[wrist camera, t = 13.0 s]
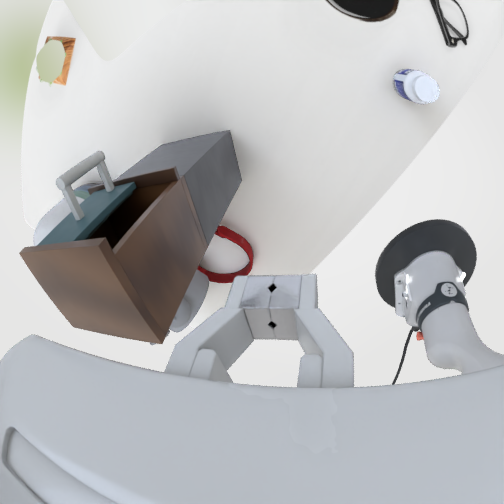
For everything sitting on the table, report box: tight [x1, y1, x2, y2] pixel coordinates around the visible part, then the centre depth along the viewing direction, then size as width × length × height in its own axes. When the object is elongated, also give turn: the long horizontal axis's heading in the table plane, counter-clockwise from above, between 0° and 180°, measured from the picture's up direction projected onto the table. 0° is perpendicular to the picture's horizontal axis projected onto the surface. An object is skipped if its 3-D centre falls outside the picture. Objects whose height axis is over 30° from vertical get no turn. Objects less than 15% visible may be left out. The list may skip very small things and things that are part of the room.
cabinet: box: [20, 130, 242, 344], centre depth 36 cm, size 12×14×35 cm
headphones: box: [197, 226, 253, 283], centre depth 60 cm, size 15×7×20 cm
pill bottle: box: [393, 69, 440, 104], centre depth 29 cm, size 5×5×9 cm
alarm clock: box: [150, 270, 209, 345], centre depth 60 cm, size 16×9×22 cm, turn 139°
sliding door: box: [37, 151, 137, 246], centre depth 24 cm, size 6×7×12 cm
